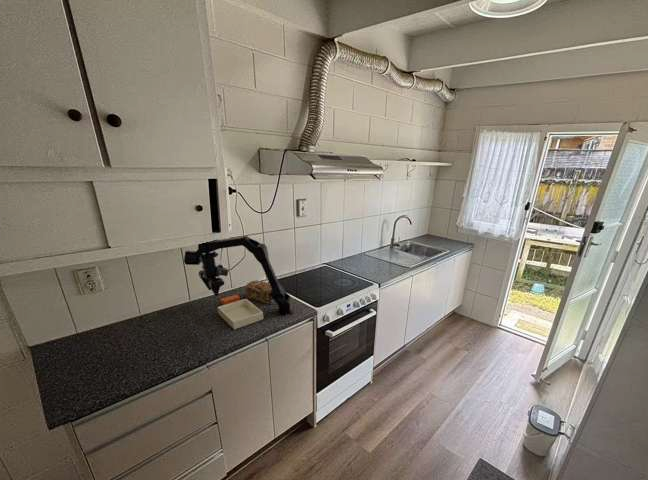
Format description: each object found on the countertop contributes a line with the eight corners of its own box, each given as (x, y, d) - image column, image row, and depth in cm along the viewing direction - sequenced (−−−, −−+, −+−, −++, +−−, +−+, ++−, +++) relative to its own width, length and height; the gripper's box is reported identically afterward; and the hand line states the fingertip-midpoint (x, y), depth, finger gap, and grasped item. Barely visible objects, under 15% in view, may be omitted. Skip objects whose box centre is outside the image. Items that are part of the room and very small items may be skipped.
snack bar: (240, 303, 170) (239, 297, 168) (224, 307, 164) (223, 301, 162) (237, 300, 173) (236, 294, 171) (221, 305, 167) (220, 298, 165)
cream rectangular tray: (263, 319, 155) (263, 312, 153) (234, 330, 145) (233, 322, 143) (246, 305, 168) (246, 298, 166) (218, 314, 157) (217, 306, 155)
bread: (245, 298, 175) (244, 283, 171) (257, 292, 184) (256, 277, 180) (271, 305, 169) (270, 290, 165) (282, 298, 178) (282, 283, 174)
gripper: (233, 266, 147) (236, 295, 153) (218, 256, 159) (222, 283, 165) (209, 271, 140) (214, 301, 146) (196, 260, 152) (200, 288, 158)
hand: (213, 292), depth 154 cm, fingers open, 9 cm apart
